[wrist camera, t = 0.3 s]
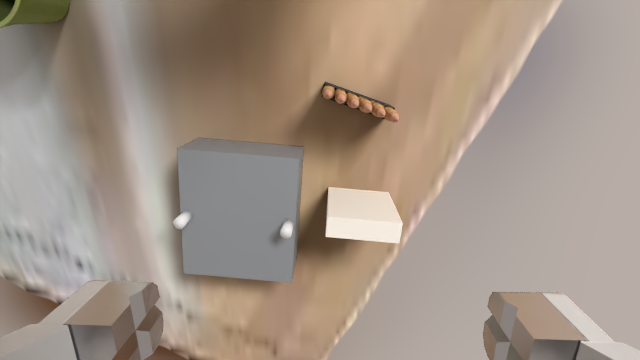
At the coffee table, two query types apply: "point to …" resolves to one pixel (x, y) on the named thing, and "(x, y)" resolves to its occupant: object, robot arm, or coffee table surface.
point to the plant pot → (32, 11)
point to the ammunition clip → (359, 102)
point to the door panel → (362, 215)
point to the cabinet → (239, 208)
